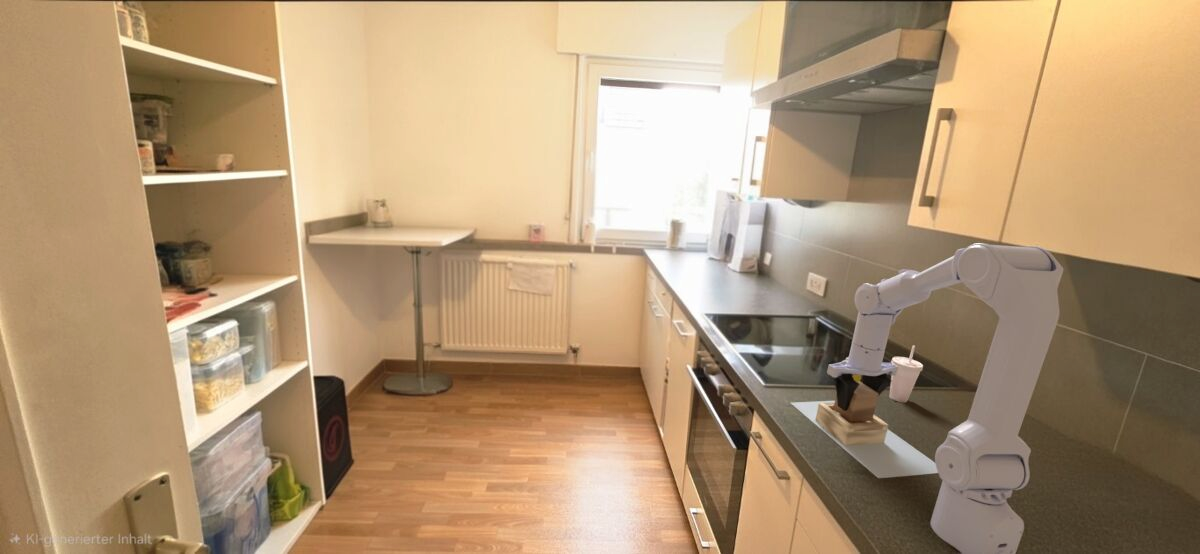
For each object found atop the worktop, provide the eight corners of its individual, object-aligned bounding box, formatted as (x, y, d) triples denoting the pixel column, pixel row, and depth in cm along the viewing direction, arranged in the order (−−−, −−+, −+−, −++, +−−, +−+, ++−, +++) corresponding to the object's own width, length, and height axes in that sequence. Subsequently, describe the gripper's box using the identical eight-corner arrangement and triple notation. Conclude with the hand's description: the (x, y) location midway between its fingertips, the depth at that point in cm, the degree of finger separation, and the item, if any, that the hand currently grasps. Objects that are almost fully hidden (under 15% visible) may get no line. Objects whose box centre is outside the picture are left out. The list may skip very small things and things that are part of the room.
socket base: (884, 442, 93) (888, 424, 92) (845, 445, 91) (849, 427, 90) (851, 418, 102) (855, 401, 101) (815, 420, 100) (818, 403, 99)
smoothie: (897, 405, 111) (911, 350, 108) (877, 392, 117) (889, 339, 114) (920, 404, 112) (935, 350, 109) (898, 391, 118) (912, 339, 115)
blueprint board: (947, 475, 86) (948, 472, 86) (877, 482, 82) (878, 478, 82) (846, 403, 110) (847, 400, 110) (789, 405, 107) (790, 402, 107)
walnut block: (872, 420, 94) (878, 393, 92) (850, 421, 93) (857, 394, 91) (853, 407, 99) (860, 381, 97) (833, 408, 97) (839, 382, 96)
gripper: (883, 336, 97) (869, 396, 101) (822, 337, 94) (810, 398, 97) (912, 350, 91) (896, 413, 94) (847, 351, 87) (833, 417, 91)
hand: (854, 407), depth 95 cm, fingers closed on walnut block, 5 cm apart
